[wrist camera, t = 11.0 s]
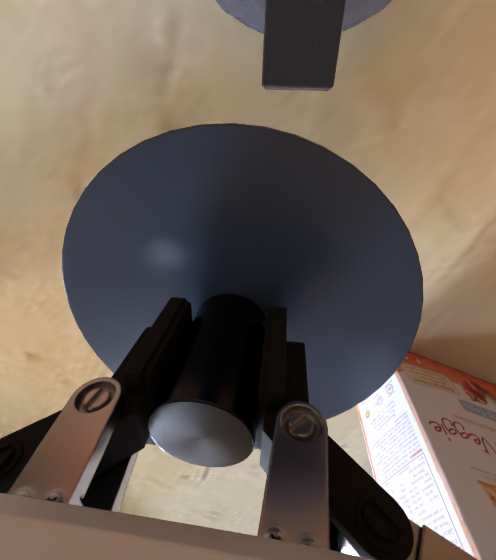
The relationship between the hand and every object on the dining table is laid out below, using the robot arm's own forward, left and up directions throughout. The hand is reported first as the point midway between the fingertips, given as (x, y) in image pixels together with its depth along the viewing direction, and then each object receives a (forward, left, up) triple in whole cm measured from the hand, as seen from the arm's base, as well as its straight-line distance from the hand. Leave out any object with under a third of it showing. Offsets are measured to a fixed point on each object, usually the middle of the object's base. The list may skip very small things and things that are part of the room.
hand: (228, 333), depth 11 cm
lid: (0, 0, -1) cm, 1 cm away
